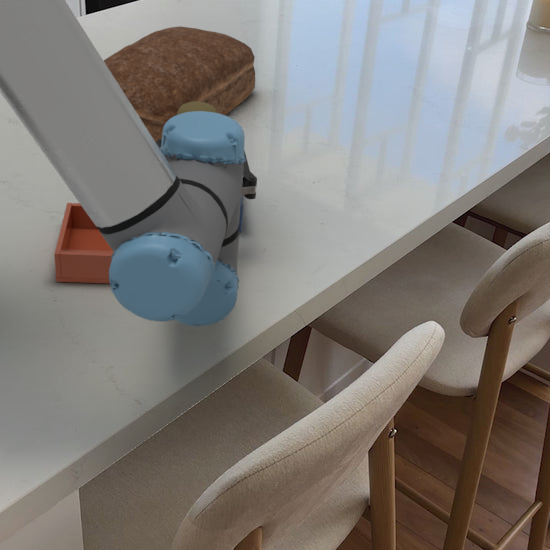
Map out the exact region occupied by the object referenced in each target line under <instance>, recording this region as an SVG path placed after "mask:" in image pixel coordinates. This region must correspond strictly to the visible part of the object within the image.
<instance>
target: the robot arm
mask: <svg viewBox="0 0 550 550" xmlns="http://www.w3.org/2000/svg"><path fill="white" fill-rule="evenodd" d="M0 94H1V95H2V97H3V99H4V100H5V101H6V103H7V104H8V105H9V107H10V108H11V110H12V111H13V113H14V114H15V115H16V117H17V118H18V119H19V121H20V122H21V124H22V125H23V127H24V128H25V130H26V131H27V132H28V133H29V135H30V136H31V138H32V139H33V140H34V142H35V143H36V145H37V146H38V147H39V148H40V150H41V151H42V153H43V154H44V156H45V158H47V160H48V161H49V163H50V164H51V165H52V167H53V168H54V170H55V171H56V172H57V174H58V175H59V177H60V178H61V179H62V181H63V182H64V184H65V185H66V186H67V188H68V189H69V191H70V192H71V193H72V195H73V196H74V197H75V199H76V201H77V203H80V205H81V206H82V207H83V209H84V210H85V211H86V213H87V214H88V216H89V217H90V218H91V220H92V221H93V223H94V224H95V225H96V227H97V228H98V230H99V231H100V233H101V234H102V236H103V238H104V239H105V240H106V242H107V243H108V245H109V246H110V247H111V249H112V250H113V252H114V253H113V254H112V257H111V259H112V261H111V265H110V269H109V281H110V283H109V285H110V290H111V293H112V294H113V296H114V297H115V300H116V301H117V302H118V303H119V304H120V305H121V306H122V307H123V308H124V309H125V310H127V312H130V313H131V314H133V315H135V316H137V317H138V318H141V319H143V320H146V321H147V320H148V321H152V322H170V321H176V322H178V323H180V324H182V325H185V326H189V327H190V326H191V327H208V326H211V325H215V324H217V323H219V322H221V321H223V320H224V319H226V318H227V317H228V316H229V315H230V314H231V312H232V311H233V310H234V308H235V306H236V303H237V300H238V290H239V282H240V279H239V275H238V257H239V243H240V232H239V217H240V206H241V195H242V196H243V197H245V199H247V200H255V199H256V198H257V188H258V187H257V186H258V177H257V176H256V175H255V174H254V173H253V172H252V171H251V169H250V166H249V165H250V164H249V161H248V158H247V155H246V150H245V141H246V140H245V136H246V135H245V132H244V129H243V127H242V125H241V124H239V122H238V121H236V120H235V119H233V118H231V117H230V116H228V115H222V114H219V113H213V112H205V111H192V112H186V113H182V114H179V115H176V116H174V117H172V118H170V119H169V120H168V121H167V122H166V123H165V125H164V127H163V132H162V139H159V140H157V141H156V142H155V141H154V139H153V138H152V136H151V134H150V133H149V131H148V130H147V128H146V127H145V125H144V124H143V122H142V120H141V119H140V117H139V116H138V114H137V113H136V111H135V109H134V108H133V106H132V105H131V103H130V102H129V100H128V98H127V97H126V95H125V94H124V92H123V91H122V89H121V87H120V86H119V84H118V83H117V81H116V80H115V78H114V76H113V75H112V73H111V72H110V70H109V69H108V67H107V66H106V64H105V62H104V59H103V58H102V56H101V54H100V53H99V51H98V50H97V48H96V47H95V45H94V44H93V42H92V40H91V39H90V37H89V35H88V34H87V33H86V31H85V30H84V28H83V26H82V24H81V23H80V21H79V20H78V18H77V17H76V16H75V14H74V12H73V11H72V9H71V7H70V6H69V4H68V3H67V1H66V0H0Z"/></svg>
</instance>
